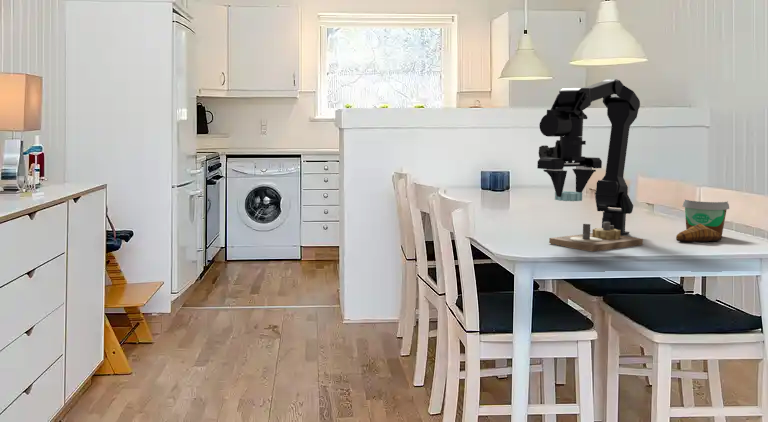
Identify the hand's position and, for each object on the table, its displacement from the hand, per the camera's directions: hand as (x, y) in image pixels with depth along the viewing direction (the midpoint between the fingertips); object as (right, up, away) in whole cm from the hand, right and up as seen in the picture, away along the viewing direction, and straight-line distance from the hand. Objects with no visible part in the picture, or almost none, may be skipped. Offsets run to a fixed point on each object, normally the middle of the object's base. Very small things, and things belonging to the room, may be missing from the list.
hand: (568, 196), depth 204 cm
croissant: (+36, -13, +4) cm, 38 cm away
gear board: (+7, -13, -3) cm, 14 cm away
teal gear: (0, -1, 0) cm, 1 cm away
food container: (+41, -11, +14) cm, 45 cm away
